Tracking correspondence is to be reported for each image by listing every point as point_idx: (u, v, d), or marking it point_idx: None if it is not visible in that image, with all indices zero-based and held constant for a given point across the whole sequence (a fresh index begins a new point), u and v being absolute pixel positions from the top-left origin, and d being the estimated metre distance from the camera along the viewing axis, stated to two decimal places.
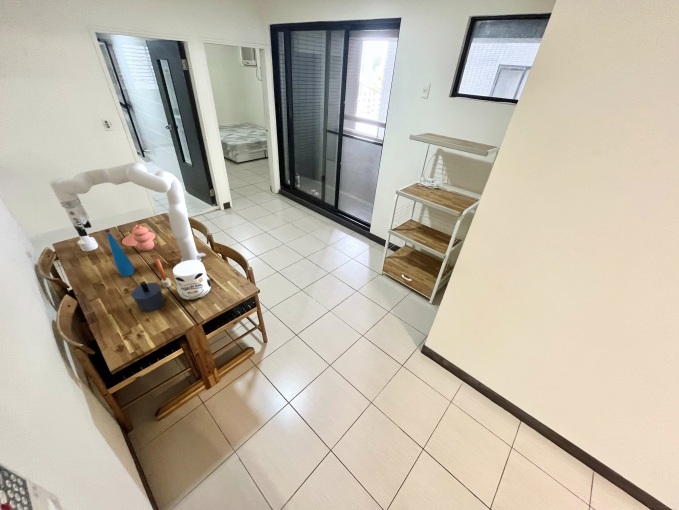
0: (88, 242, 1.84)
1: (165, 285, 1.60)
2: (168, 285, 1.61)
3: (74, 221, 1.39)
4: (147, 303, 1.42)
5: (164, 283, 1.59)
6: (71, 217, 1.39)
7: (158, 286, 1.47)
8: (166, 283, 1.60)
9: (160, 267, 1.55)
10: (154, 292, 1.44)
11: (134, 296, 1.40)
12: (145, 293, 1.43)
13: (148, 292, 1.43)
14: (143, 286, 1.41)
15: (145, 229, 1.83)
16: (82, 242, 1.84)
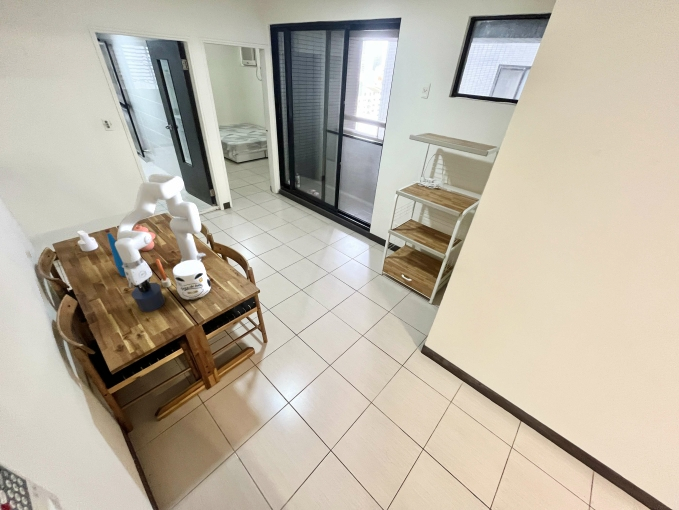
0: (88, 242, 1.84)
1: (165, 285, 1.60)
2: (168, 285, 1.61)
3: (129, 282, 1.35)
4: (147, 303, 1.42)
5: (164, 283, 1.59)
6: (127, 276, 1.34)
7: (158, 286, 1.47)
8: (166, 283, 1.60)
9: (160, 267, 1.55)
10: (154, 292, 1.44)
11: (134, 296, 1.40)
12: (145, 293, 1.43)
13: (148, 292, 1.43)
14: (143, 286, 1.41)
15: (145, 229, 1.83)
16: (82, 242, 1.84)
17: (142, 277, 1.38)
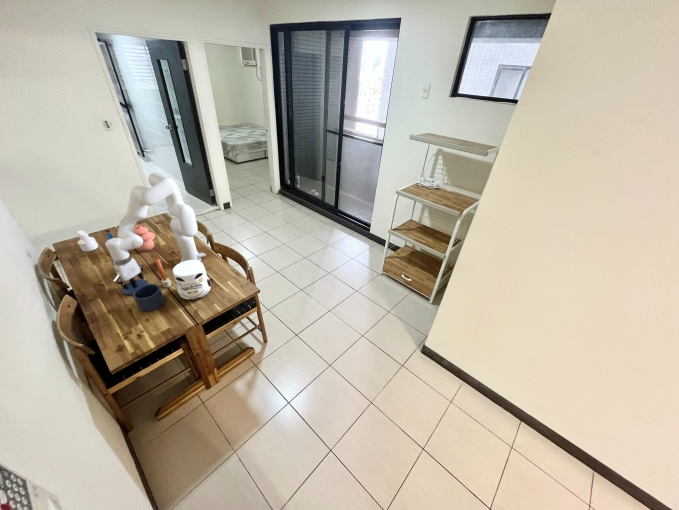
0: (88, 242, 1.84)
1: (165, 285, 1.60)
2: (168, 285, 1.61)
3: (116, 277, 1.47)
4: (147, 303, 1.42)
5: (164, 283, 1.59)
6: (117, 272, 1.48)
7: (146, 283, 1.62)
8: (166, 283, 1.60)
9: (160, 267, 1.55)
10: None
11: (124, 291, 1.55)
12: (134, 289, 1.57)
13: (137, 288, 1.58)
14: (132, 282, 1.56)
15: (145, 229, 1.83)
16: (82, 242, 1.84)
17: (131, 273, 1.52)
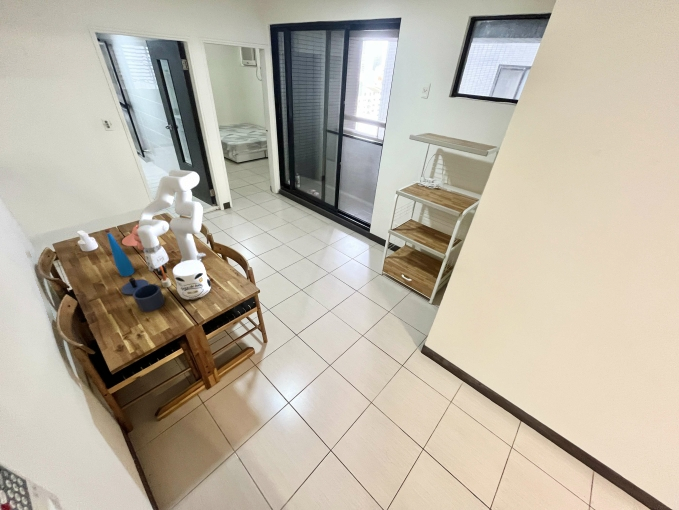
0: (88, 242, 1.84)
1: (165, 285, 1.60)
2: (168, 285, 1.61)
3: (149, 266, 1.49)
4: (147, 303, 1.42)
5: (164, 283, 1.59)
6: (146, 260, 1.48)
7: (146, 283, 1.62)
8: (166, 283, 1.60)
9: (160, 267, 1.55)
10: None
11: (124, 291, 1.55)
12: (134, 289, 1.57)
13: (137, 288, 1.58)
14: (132, 282, 1.56)
15: None
16: (82, 242, 1.84)
17: (160, 262, 1.51)
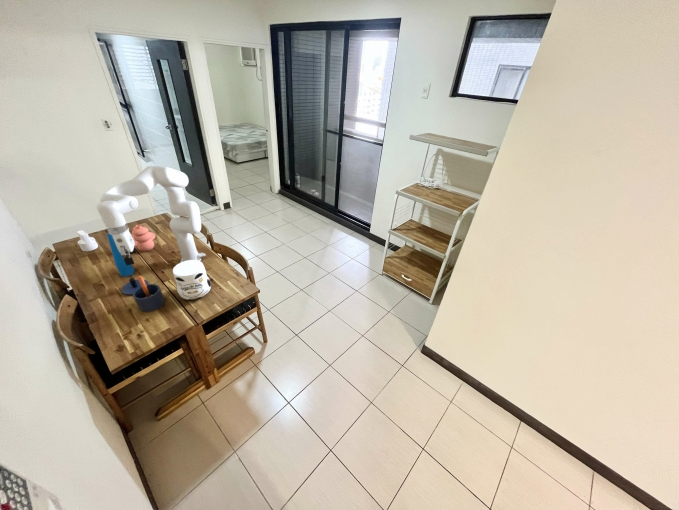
0: (88, 242, 1.84)
1: None
2: None
3: (122, 249, 1.23)
4: (147, 303, 1.42)
5: None
6: (118, 245, 1.23)
7: (146, 283, 1.62)
8: None
9: (144, 283, 1.42)
10: None
11: (124, 291, 1.55)
12: (134, 289, 1.57)
13: (137, 288, 1.58)
14: (132, 282, 1.56)
15: (145, 229, 1.83)
16: (82, 242, 1.84)
17: (131, 243, 1.29)
